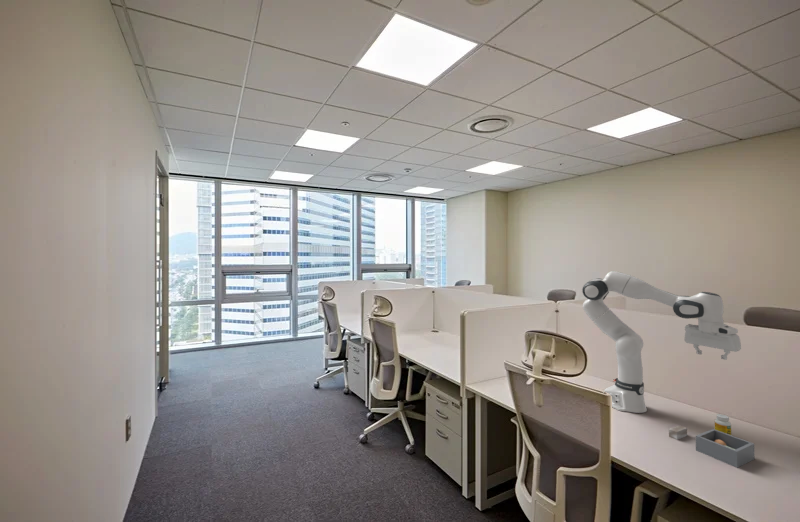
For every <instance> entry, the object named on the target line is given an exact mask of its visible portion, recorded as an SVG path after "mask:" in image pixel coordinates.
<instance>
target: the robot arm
mask: <svg viewBox="0 0 800 522" xmlns="http://www.w3.org/2000/svg"><path fill="white" fill-rule="evenodd" d="M581 290H582V291H581V292H582V295H583V296H584V297H585V298H586V299H585V300H584V301H583V303H582V309H583V311H584V312H585V314H586V315H587V317H588V318H589V319H590V320H591V321H592V322H593V324H594V325H596V326H597V328H599V330H601V332H602V333H603V334H605V335H607V336H608V337H609V338H610V339H612V340H613V341H614V342H615V346H614V347H615V354H616V362H617V378H614V379H613V380H612V382H614V384H613V385H610V386H608V387H606V388H605V389H604V390H603V392H604V391H605V392H607V393H609V394H610V395H611V396H612V407H611V408H613V409H614V410H617V411H620V412H628V413H637V414H638V413H639V414H641V413H646V412H647V411H648V409H647V406H646V405H647V404H646V402H645V395H644V392H645V383H644V381H643V380H644V375H643V363H642V349H643V347H644V341H643V338H642V337H641V335H639V333H637V332H636V331H635V330H634V329H632V328H631V327H629V326H628V325H627V324H626V323H624V322H623V321H622V320H621V319H620V318H619V317H618V316H617V314H616V313H614V312H613V311H612V310H611V309H610V308H609V307H608V305H606V304H605V301H604V300H605V299H606V298H607V296H608V295H609V293H610V292H614V293H618V294H619V295H622V296H624V297H627V298H630V299H631V298H632V299H635V300H652V301H656V302H658V303H662V304H663V305H667V306H669V307H671V308H672V310H673V313H674V315H676V316H677V317H679V318H682V319H689V320H690V319H698V320H697V321H698V323H697V324H692V323H688V324H685V326H684V342H685V343H687V344H692V345H693V348H694V350H695V351H696V354H697V355H702V354H703V350H701V349H700V348H699V347H700V346H701V347H706V348H713V349H719V350H722V351H723V352H724V353H723V354H721V355H720V358H721V360H724V361H726V360H728V355H729V354H730V353H731V352H734V353H736V352H740V351H741V350H742V344H741V338H740V336H739V335H738V333H739V330H738V328H735V327H733V326H731V325H727V324H725V323H724V322H725V321H724V318H723V315H724V301H723V298H722V296H720V294H719V293H718V294H717V293H714V292H709V291H700V292H699V293H696V294H694V295H692V296H689V295H678V294H674V293H671V292H668V291H666V290H663V289H660V288H657V287H655V286H654V285H651V284H650V283H649V282H646V281H645V280H642V279H640V278H639V277H636V276H633V275H631V274H627V273H624V272H619V271H614V270H611V271H609V272H608V273H607V274H605V275H604V278H594V279H590V280H589V281H587V282H586V283H584V284H583V286H582V289H581Z"/></svg>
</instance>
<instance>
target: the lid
mask: <svg viewBox="0 0 800 522" xmlns="http://www.w3.org/2000/svg"><path fill="white" fill-rule="evenodd" d="M687 436H688V428H687V427H685V426H682V425H680V424H679V425H676V426H674V427H671V428H668V437H669V438H671V439H673V440H675V441H676V440H677V441H678V440H680V439H683V438H685V437H687Z"/></svg>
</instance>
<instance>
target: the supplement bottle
mask: <svg viewBox="0 0 800 522" xmlns="http://www.w3.org/2000/svg"><path fill="white" fill-rule="evenodd" d="M714 429H715V430H718V431H721V432H723V433H726V434H729V435H732V424H731V422H730V417H729V416H728V415H725V414H720V413H719V414H716V418H715V419H714Z"/></svg>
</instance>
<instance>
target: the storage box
mask: <svg viewBox="0 0 800 522" xmlns="http://www.w3.org/2000/svg"><path fill="white" fill-rule="evenodd" d="M715 440H722V441H724V442H725V443H726V445H727V446H728V447H726V446H724V445H721V444H719V443H716V442H714V441H715ZM729 447H731V448H733V449H731V448H729ZM734 449H735V450H734ZM695 451H696V452H698V453H701V454H703V455H706V456H708V457H711V458H713V459H715V460H718V461H720V462H722V463H725V464H727V465H730V466H731V467H733V468H736V469H738V468H740V467H742V466H744V465H745V464H748V463H749V462H752V461H754V460H755V455H756V454H755V443H754V442H752V441H748V440H745V439H743V438H739V437H737V436H734V435H732V434H731V435H729V434H726V433H723V432H721V431H718V430H715V428H712V429H709V430H707V431H704V432H702V433H699V434H696V435H695Z"/></svg>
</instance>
